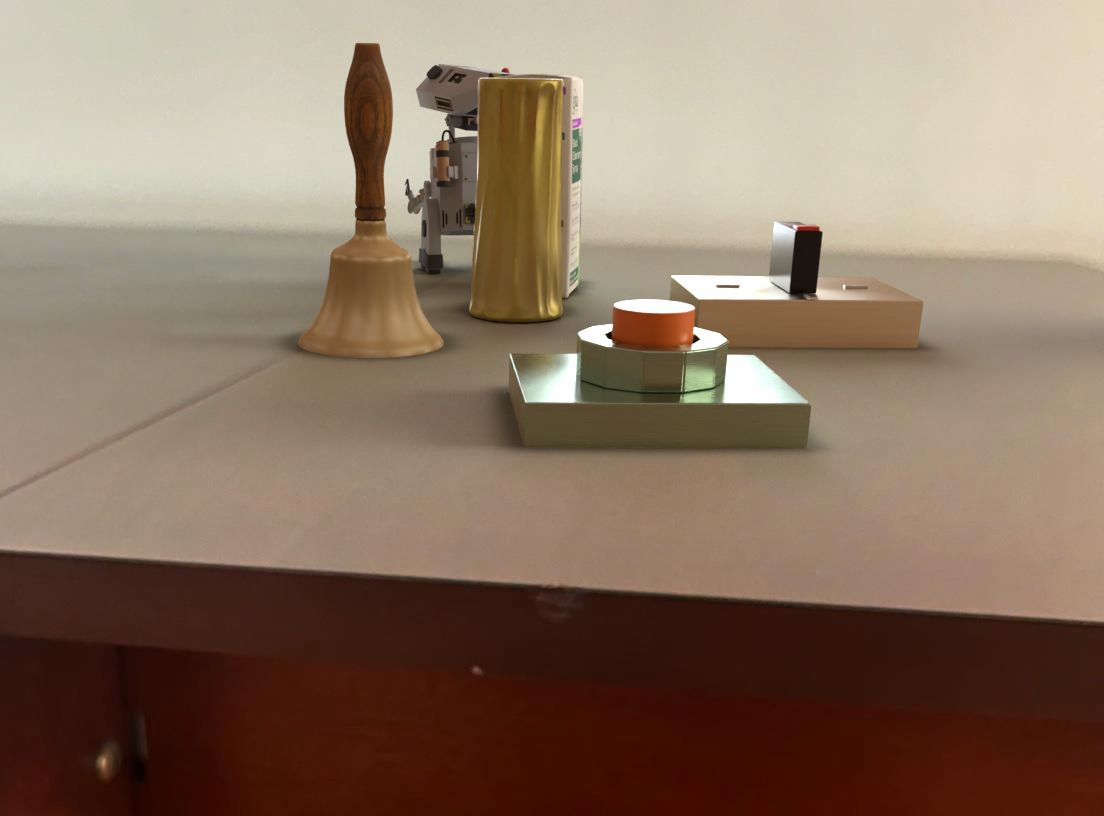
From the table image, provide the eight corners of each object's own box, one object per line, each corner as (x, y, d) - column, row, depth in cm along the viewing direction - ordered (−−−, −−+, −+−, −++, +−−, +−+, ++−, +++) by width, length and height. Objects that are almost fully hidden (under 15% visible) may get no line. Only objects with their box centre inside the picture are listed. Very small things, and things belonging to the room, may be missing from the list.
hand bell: (474, 349, 75) (477, 45, 69) (361, 370, 70) (354, 41, 64) (380, 328, 80) (375, 44, 74) (268, 346, 75) (253, 40, 69)
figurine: (510, 256, 112) (514, 65, 106) (544, 276, 102) (551, 66, 96) (404, 257, 110) (402, 63, 105) (428, 277, 100) (427, 63, 94)
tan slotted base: (867, 324, 85) (873, 274, 84) (917, 353, 76) (925, 298, 75) (667, 322, 84) (670, 272, 83) (695, 352, 76) (700, 296, 74)
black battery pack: (768, 280, 81) (774, 217, 80) (794, 280, 82) (800, 217, 80) (789, 293, 77) (795, 226, 75) (816, 293, 77) (823, 227, 75)
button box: (751, 399, 65) (758, 317, 64) (806, 454, 56) (816, 360, 54) (508, 398, 64) (510, 315, 63) (523, 454, 55) (526, 359, 54)
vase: (494, 303, 90) (498, 77, 84) (578, 312, 87) (587, 79, 82) (452, 317, 84) (453, 77, 79) (539, 326, 82) (546, 79, 77)
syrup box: (569, 298, 92) (577, 74, 87) (486, 294, 93) (489, 73, 88) (579, 286, 97) (587, 74, 92) (500, 283, 98) (504, 72, 93)
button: (684, 338, 61) (687, 299, 60) (699, 354, 57) (702, 313, 57) (606, 337, 60) (608, 298, 60) (617, 353, 57) (619, 312, 56)
